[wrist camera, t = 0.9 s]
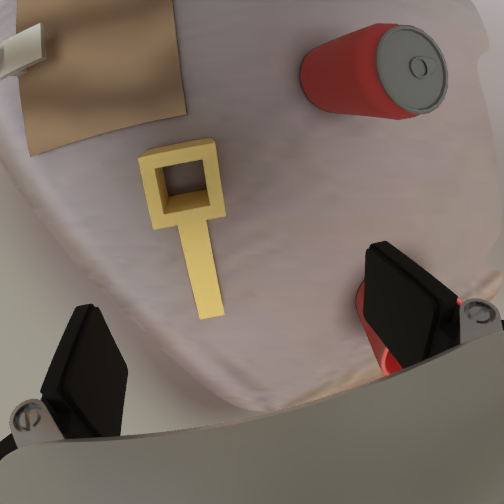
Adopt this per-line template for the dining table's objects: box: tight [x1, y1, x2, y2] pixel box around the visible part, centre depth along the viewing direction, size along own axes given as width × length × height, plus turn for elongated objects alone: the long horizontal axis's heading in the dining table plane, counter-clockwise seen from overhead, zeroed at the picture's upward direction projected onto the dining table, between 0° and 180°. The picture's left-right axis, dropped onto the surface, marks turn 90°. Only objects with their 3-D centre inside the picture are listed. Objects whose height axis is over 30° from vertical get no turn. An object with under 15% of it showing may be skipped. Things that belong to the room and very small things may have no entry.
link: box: [138, 138, 226, 319], centre depth 26 cm, size 16×5×5 cm, turn 6°
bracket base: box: [0, 0, 187, 157], centre depth 15 cm, size 22×14×7 cm, turn 6°
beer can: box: [300, 24, 448, 120], centre depth 19 cm, size 7×7×12 cm
